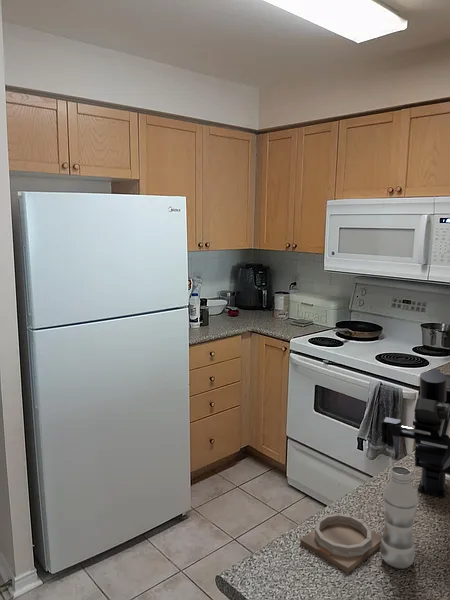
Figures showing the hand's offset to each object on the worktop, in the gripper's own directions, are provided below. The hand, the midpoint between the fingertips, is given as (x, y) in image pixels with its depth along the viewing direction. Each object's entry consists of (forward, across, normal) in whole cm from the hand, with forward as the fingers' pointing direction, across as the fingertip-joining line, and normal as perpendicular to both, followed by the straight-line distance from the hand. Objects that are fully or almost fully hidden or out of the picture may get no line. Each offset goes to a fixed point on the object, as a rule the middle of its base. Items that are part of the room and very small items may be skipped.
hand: (418, 462), depth 100 cm
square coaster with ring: (+12, -13, +16) cm, 24 cm away
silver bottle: (+13, -2, +16) cm, 21 cm away
